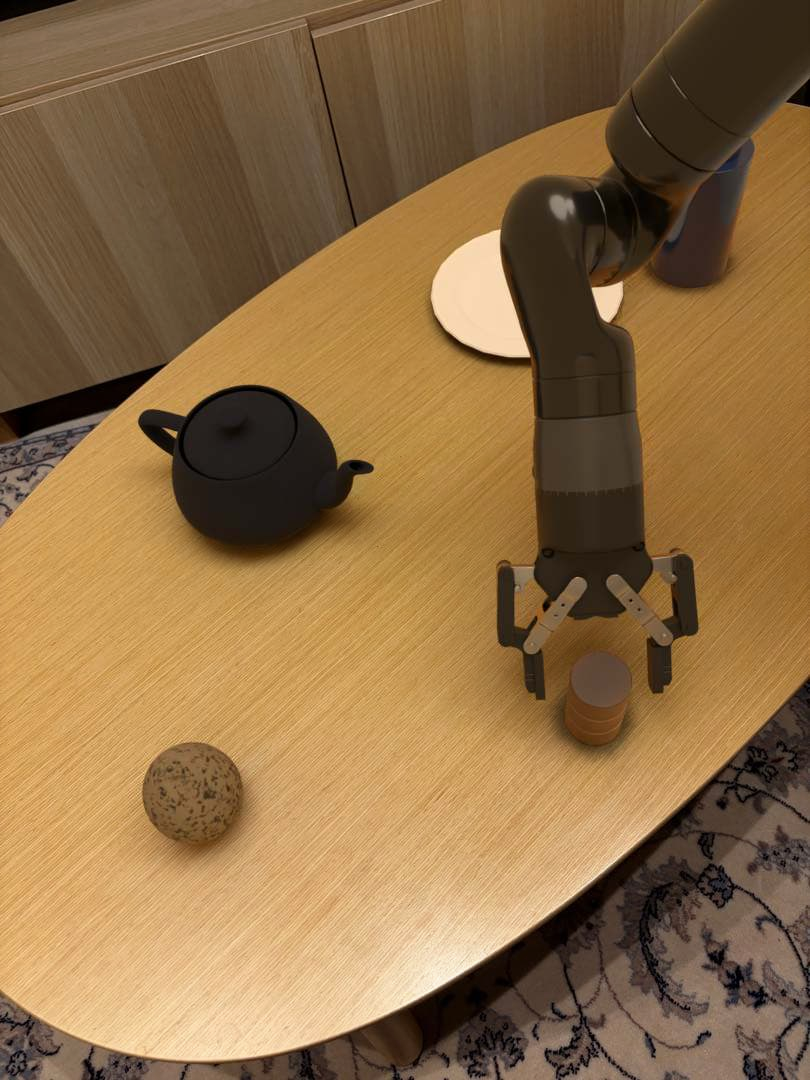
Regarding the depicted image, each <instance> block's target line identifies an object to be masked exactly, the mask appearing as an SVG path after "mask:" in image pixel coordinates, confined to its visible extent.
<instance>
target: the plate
mask: <svg viewBox="0 0 810 1080" xmlns="http://www.w3.org/2000/svg"><path fill="white" fill-rule="evenodd" d="M500 232H501V228H500V229H495V230H492V231H490V232H487V233H484V234H482V235H479V236H477V237H474V238H472V239H471V240H469V241H467V242H466V243H463V245H461V246H460V247H458V248H456V249H455V250H454V251H453V252H452V253H451V254H450V255H449V256H448V257H447V258H446V259H445V260H444V261H443V262H442V263H441V264H440V266H439V268H438V270H437V272H436V274H435V276H434V278H433V280H432V286H431V292H430V300H431V304H432V309H433V313H434V316H435V318H436V319H437V320H438V323H440V325H441V327H442V328H443V330H444V331H445V332H446V333H448V334H449V335H450V336H451V337H453V338H454V339H455V340H456V341H458V342H459V343H460V344H462V345H464V346H467V348H468V347H469V348H470V349H473V350H475V351H478V352H480V353H482V354H486V355H490V356H495V357H499V358H505V359H531V358H530V354H529V351H528V348H527V345H526V342H525V340H524V337H523V334H522V331H521V328H520V325H519V321H518V318H517V315H516V311H515V308H514V305H513V302H512V299H511V296H510V292H509V289H508V286H507V283H506V280H505V276H504V272H503V268H502V263H501V256H500ZM623 283H624V280H623V281H621V282H619V283H617V284H614V285H611V286H607V287H599V288H592V292H593V295H594V298H595V302H596V305H597V308H598V311H599V314H600V316H601V318H602V319H603V320H605V321H606V322H608V323H612V321H613V319H614V318H615V317H616V316H617V314H618V311H619V309H620V306H621V303H622V301H623V298H624V285H623Z"/></svg>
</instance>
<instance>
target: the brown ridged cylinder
mask: <svg viewBox="0 0 810 1080" xmlns="http://www.w3.org/2000/svg"><path fill="white" fill-rule="evenodd" d="M632 687H633V676H632V673H631V670H630V667H628V665H627V664H626V663H625V661H624V660H622V659H621V657H618V656H617V655H615V654H613V653H610V652H606V651H601V650H600V651H591V652H588V653H585V654H583V655H582V656H580V657H579V658H577V660H576V661H574V663H573V665H572V667H571V669H570V673H569V680H568V686H567V696H566V699H565V700H566V701H565V714H564V721H565V725H566V728H567V730H568V732H569V733H570V734H571V735H572V737H573V738H575V739H576V740H577V741H578V742H580V743H583V744H585V745H589V746H602V745H605V744H608V743H610V742H611V741H613V740H614V739H615V738H616V736H617V735H619V732H620V730H621V727H622V724H623V720H624V718H625V715H626V709H627V708H628V705H629V701H630V694H631V691H632Z"/></svg>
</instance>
